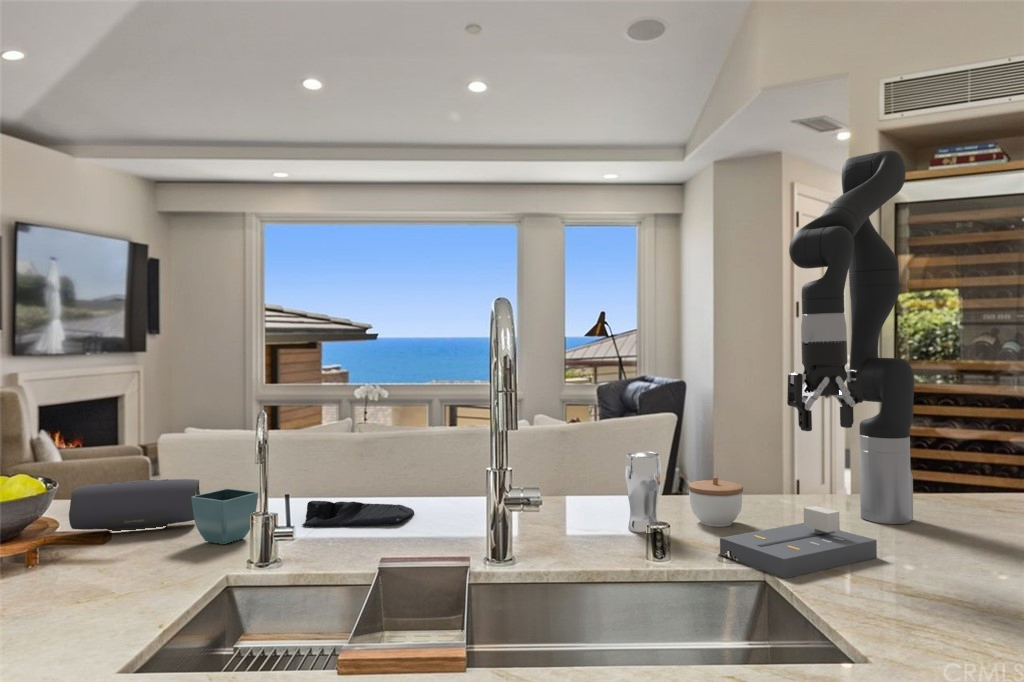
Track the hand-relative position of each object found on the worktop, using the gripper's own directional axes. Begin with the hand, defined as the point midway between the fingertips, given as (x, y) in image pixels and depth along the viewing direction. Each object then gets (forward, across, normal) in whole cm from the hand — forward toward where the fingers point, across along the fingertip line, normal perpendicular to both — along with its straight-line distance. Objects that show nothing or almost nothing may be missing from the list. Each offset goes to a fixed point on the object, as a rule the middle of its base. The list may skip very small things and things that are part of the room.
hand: (826, 429), depth 129 cm
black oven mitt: (+20, +80, -47) cm, 95 cm away
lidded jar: (+21, +10, -21) cm, 31 cm away
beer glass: (+21, +27, -20) cm, 40 cm away
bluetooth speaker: (+19, +124, -53) cm, 136 cm away
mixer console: (+21, +10, +4) cm, 23 cm away
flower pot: (+19, +106, -38) cm, 114 cm away
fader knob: (+18, +4, +2) cm, 18 cm away
